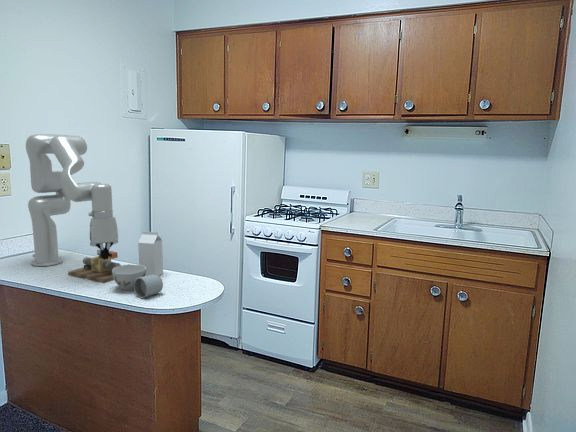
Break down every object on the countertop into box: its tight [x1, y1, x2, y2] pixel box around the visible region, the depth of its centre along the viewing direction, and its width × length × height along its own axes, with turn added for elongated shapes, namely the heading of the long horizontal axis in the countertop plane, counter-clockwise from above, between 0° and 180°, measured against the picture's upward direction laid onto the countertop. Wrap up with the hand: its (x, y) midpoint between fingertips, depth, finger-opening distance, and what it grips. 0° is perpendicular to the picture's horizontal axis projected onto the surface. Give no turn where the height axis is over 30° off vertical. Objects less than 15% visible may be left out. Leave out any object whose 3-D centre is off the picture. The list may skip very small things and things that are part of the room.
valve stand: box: [67, 255, 121, 284], centre depth 182 cm, size 22×16×8 cm
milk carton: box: [137, 231, 164, 277], centre depth 180 cm, size 7×7×19 cm
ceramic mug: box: [133, 275, 164, 299], centre depth 158 cm, size 11×8×8 cm
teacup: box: [112, 264, 146, 291], centre depth 166 cm, size 15×12×8 cm
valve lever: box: [96, 249, 118, 260], centre depth 179 cm, size 12×3×2 cm, turn 55°
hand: (105, 258), depth 174 cm, fingers closed
